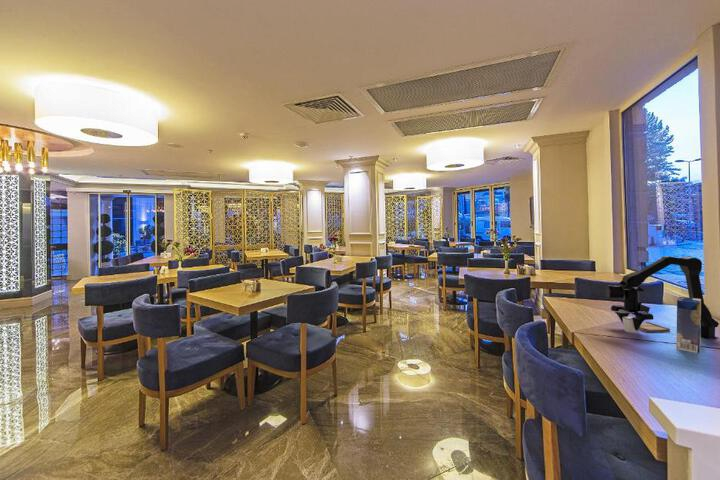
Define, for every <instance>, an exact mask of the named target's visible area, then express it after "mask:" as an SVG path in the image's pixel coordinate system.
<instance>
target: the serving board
mask: <svg viewBox="0 0 720 480" xmlns="http://www.w3.org/2000/svg"><path fill="white" fill-rule="evenodd" d="M638 331H642V332H645V333H670V332H671V328H669V327H665V326H662V325H661V324H657V323H653V322H650V321H645V322H642V324H641V325H640V327H639V329H638Z"/></svg>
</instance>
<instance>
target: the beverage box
mask: <svg viewBox="0 0 720 480" xmlns="http://www.w3.org/2000/svg"><path fill="white" fill-rule="evenodd" d="M701 340H702V338H701V299H697V298H689V297H685V296H678V298H677V300H676V347H675V348H676V350H681V351H685V352H689V353H695V354H700V353H701V352H700V351H701V342H702V341H701Z"/></svg>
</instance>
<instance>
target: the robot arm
mask: <svg viewBox="0 0 720 480" xmlns="http://www.w3.org/2000/svg"><path fill="white" fill-rule="evenodd" d="M670 265H672V266H673V265H674V266H679V268H680V270H681V271H682V273H683V274H684V275H685V281H686V282H685V283H686V287H687V292H688V298H697V299H701V339H706V340H707V339H708V340H710V339H711V340H713V339H719V337H717V336H716V328H718V327H719V324H720V323H719V322H718V320H717V321H716V320H715V318H713V316H712V313H711V311H710V310H709V307H707V305H706V304H705V300H704V295H703V288H702V283H701V278H700V274H701V272H702V269H703V263H702V260H701V259H700V258H697V257H692V256H683V257H682V256H681V257H673V256H670V255H664V256H662V257H661V258H659V259H657V260H655V261H654V262H652V263H650V264H649V265H647V266H645V267H643V268H642V269H639V270H637V271H634V272H630V273H628V274H624V276H623V277H622V280H621V281H619V283H618V284H617V285H611V284H608V285H607V287H606V289H605V291H604V293H605V296H606V298H607V299H621V302H622V303H623V305H622V304H616V305H615V304H613V305H611V307H610V311H613V312H614V313H615V314H616V315H617V316H618V318H619V320H620V321H621V323H622V324H623V318H622V317H624V316H628V317H629V315H633V316H632V317H633V318H632V319H633V323H634V327H635V330H638V329H639V327H640V325H641V324H642V323H644V322H645V321H651V320H654V315H653V314H652V313H650V309H651V307H650V306H647V305H643V304H642V302H641V301H640V299H639V294H640V293H639V292H644V291H645V289H644V288H643V289H642V288H641V285H642V284H643V283H644V282H645V281H646V280H647V278H649V277H650V276H653V275H654V274H656V273H658V272H660V271H662V270H664V269H665V268H668V267H669V266H670ZM622 298H623V299H622ZM638 331H639V330H638Z"/></svg>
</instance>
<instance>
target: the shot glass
mask: <svg viewBox="0 0 720 480" xmlns="http://www.w3.org/2000/svg"><path fill="white" fill-rule="evenodd" d="M633 317H634V316H629V315H628V316H624V317H622V318H623V323H622V325H623V331H624V332H626V333H632V334H637V333H639V330H635V327H634V323H633V319H632V318H633Z"/></svg>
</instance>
